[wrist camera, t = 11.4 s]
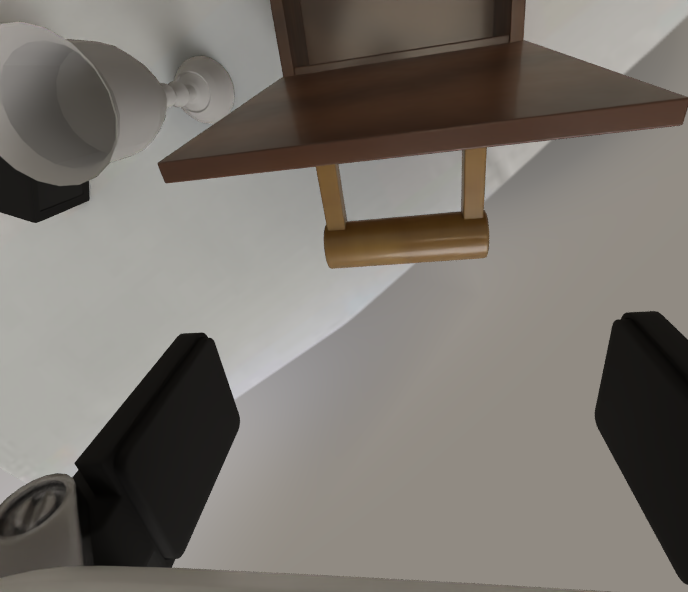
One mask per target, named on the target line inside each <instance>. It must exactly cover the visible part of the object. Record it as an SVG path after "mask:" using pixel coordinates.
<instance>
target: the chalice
mask: <svg viewBox="0 0 688 592" xmlns="http://www.w3.org/2000/svg"><path fill="white" fill-rule="evenodd" d="M233 104H234V88H233V83H232V81H231V79H230V76H229V74H228V73H227V71H226V70H225V69H224V68H223V67H222V65H221V64H219V63H218V62H216V61H215V60H213V59H212V58H208V57H204V56H196V57H192V58H190V59H188V60H186V61H184V63H183V64H182V65H181V66H180V67H179V69H178V71H177V74H176V75H175V78H174V81H172V82H170V83H169V84H165V83H159V81H158V80H157V78H156V77H155V76H154V75H153V74H152V73H151V72H150V71H149V70H148V68H147V67H146V66H145V65H143V64H142V63H141V62H139V61H138V60H136V59H135V58H134V57H132V56H131V55H129V54H127V53H126V52H124V51H122V50H121V49H119V48H117V47H116V46H113V45H109V44H105V43H101V42H96V41H84V40H72V39H64V38H63V37H61V36H59V35H58V34H56V33H54V32H52V31H51V30H49V29H47V28H45V27H41V26H37V25H33V24H29V23H24V22H20V21H19V22H12V23H4V24H0V156H1V157H2V158H3V159H4V160H5V161H7V162H8V163H9V164H10V165H11V166H12V167H14V168H15V169H16V170H18V171H20V172H22V173H24V174H25V175H27V176H29V177H31V178H33V179H35V180H37V181H40V182H44V183H49V184H53V185H57V186H67V185H80V184H82V183H84V182H86V181H89V180H91V179H93V178H95V177H97V176H98V175H99V174H100V173H101V172H102V171H103V169H104V168H105V167H106V166H107V165H108V164H109V163H111V162H114V161H117V160H120V159H123V158H126V157H129V156H132V155H134V154H136V153H139V152H141V151H143V150H144V149H145V148H146V147H147V146H148V145H149V144H150V143H151V142H152V141H153V140H154V138H155V137H156V135H157V134H158V132H159V131H160V129H161V127H162V124H163V122H164V120H165V116H166V109H167V108H170V107H172V106H175V107H181V108H182V109H183V110H184V111H185V112H186V113H187V114H188V115H189V116H191V117H192V118H194V119H195V120H197V121H199V122H203V123H207V124H208V123H216V122H218V121H219V120H221V119H222V118H224V117H225V116H227V115H228V114H229V113H230V111H231V109H232V106H233Z"/></svg>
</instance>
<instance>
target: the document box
mask: <svg viewBox="0 0 688 592" xmlns="http://www.w3.org/2000/svg"><path fill="white" fill-rule="evenodd" d="M525 3H526V0H270V4H271V10H272V15H273V21H274V27H275V32H276V38H277V44H278V49H279V55H280V61H281V66H282V72H283V77H287V76H294V75H300V74H307V73H313V72H320V71H326V70H333V69H340V68H346V67H353V66H359V65H366V64H372V63H379V62H386V61H392V60H399V59H405V58H412V57H418V56H425V55H431V54H438V53H445V52H451V51H458V50H464V49H471V48H477V47H484V46H491V45H497V44H504V43H510V42H517V41H523V37H524V20H525Z"/></svg>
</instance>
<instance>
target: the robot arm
mask: <svg viewBox="0 0 688 592" xmlns="http://www.w3.org/2000/svg"><path fill="white" fill-rule="evenodd" d="M595 420H596V424H597V427H598V429H599V431H600V433H601V435H602V437H603V438H604V440H605V442H606V444H607V446H608V448H609V450H610V451H611V453H612V455H613V457H614V459H615V461H616V462H617V464H618V466H619V468H620V470H621V472H622V474H623V475H624V477H625V479H626V481H627V483H628V485H629V486H630V488H631V490H632V492H633V494H634V496H635V498H636V500H637V501H638V503H639V505H640V507H641V509H642V511H643V513H644V514H645V516H646V518H647V520H648V522H649V524H650V525H651V527H652V529H653V531H654V533H655V534H656V537H657V538H658V540H659V542H660V544H661V546H662V548H663V550H664V551H665V553H666V555H667V557H668V559H669V561H670V562H671V564H672V566H673V568H674V570H675V571H676V573H677V575H678V577H679V578H680V579H681V580H682V581H683V583H685V584H687V585H688V340H687V339H686V338H685V337H684V336H683V335H682V334H681V333H680V332H679V331H678V330H677V329H676V328H675V327H674V326H673V325H672V324H671V323H670V322H669V321H668V320H667V319H665V317H664V316H663V315H661V314H660V313H659V312H655V311H650V312H630V313H625V314H624V315H623V316H622V318H621V320H616V321H614V323H613V326H612V330H611V335H610V340H609V345H608V350H607V355H606V359H605V364H604V369H603V374H602V379H601V384H600V389H599V394H598V399H597V403H596V408H595ZM239 425H240V417H239V413H238V410H237V407H236V404H235V401H234V398H233V395H232V392H231V390H230V387H229V384H228V381H227V378H226V375H225V372H224V369H223V366H222V363H221V360H220V357H219V354H218V351H217V348H216V345H215V342H214V340H213V339H212V338H208V337H207V335H206V334H205V333H185V334H180V335H179V336H178V337H177V338H176V339H175V340H174V342H173V343H172V344H171V345H170V347H169V348H168V349H167V350H166V352H165V353H164V354H163V355H162V356H161V358H160V359H159V360H158V361H157V363H156V364H155V365H154V366H153V367H152V369H151V370H150V371H149V372H148V374H147V375H146V376H145V377H144V379H143V380H142V381H141V382H140V383H139V385H138V386H137V387H136V388H135V390H134V391H133V392H132V393H131V394H130V396H129V397H128V398H127V399H126V401H125V402H124V403H123V404H122V406H121V407H120V408H119V409H118V410H117V412H116V413H115V414H114V415H113V417H112V418H111V419H110V420H109V421H108V423H107V424H106V425H105V426H104V428H103V429H102V430H101V431H100V432H99V434H98V435H97V436H96V437H95V439H94V440H93V441H92V442H91V444H90V445H89V446H88V447H87V448H86V450H85V451H84V452H83V453H82V455H81V456H80V457H79V458H78V459H77V461H76V462H75V465H76V466H77V468H78V469H79V470H78V471H77V473H76V474H75V475H74V476H73V478H72V477H70V476H69V475H67V474H59V473H57V474H51V475H46V476H43V477H41V478H38V479H35V480H33V481H31V482H29V483H28V484H26V485H25V486H22V487H21V488H19V489H18V490H17V491H15V492H14V493H13V494H11V495H10V496H9V497H7V498H6V500H4V501H3V503H2V504H1V505H0V592H609V591H593V590H575V589H559V588H541V587H525V586H508V585H492V584H475V583H457V582H438V581H419V580H403V579H385V578H366V577H347V576H328V575H308V574H290V573H269V572H249V571H248V572H247V571H229V570H207V569H187V568H172V565H173V563H174V561H175V559H178V558H180V557H181V556H182V554H183V553H184V551H185V549H186V547H187V545H188V542H189V540H190V538H191V535H192V534H193V531H194V529H195V527H196V524H197V522H198V520H199V518H200V515H201V513H202V511H203V509H204V506H205V504H206V502H207V500H208V497H209V495H210V493H211V491H212V488H213V486H214V484H215V481H216V479H217V477H218V475H219V473H220V470H221V468H222V466H223V463H224V461H225V459H226V457H227V454H228V452H229V450H230V448H231V445H232V443H233V441H234V438H235V436H236V434H237V432H238V429H239Z"/></svg>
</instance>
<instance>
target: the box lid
mask: <svg viewBox="0 0 688 592" xmlns="http://www.w3.org/2000/svg"><path fill="white" fill-rule="evenodd" d="M687 108H688V97H686V96H683V95H680V94H677V93H674V92H671V91H669V90H666V89H663V88H660V87H657V86H654V85H652V84H649V83H646V82H643V81H640V80H637V79H634V78H632V77H629V76H626V75H623V74H620V73H617V72H614V71H611V70H609V69H606V68H603V67H600V66H597V65H594V64H591V63H588V62H586V61H583V60H580V59H577V58H574V57H571V56H568V55H565V54H563V53H560V52H557V51H554V50H551V49H548V48H545V47H543V46H540V45H537V44H534V43H531V42H528V41H525V40H523V41H517V42H510V43H504V44H497V45H491V46H484V47H477V48H471V49H464V50H458V51H451V52H445V53H438V54H431V55H425V56H418V57H412V58H405V59H399V60H392V61H386V62H379V63H372V64H366V65H359V66H353V67H346V68H340V69H333V70H326V71H320V72H313V73H307V74H300V75H294V76H287V77H282V78H280V79H279V80H277V81H276V82H275V83H273V84H272V85H270V86H269V87H267V88H266V89H264V90H263V91H261V92H260V93H259V94H257V95H256V96H254V97H253V98H251V99H250V100H248V101H247V102H245V103H244V104H243V105H241V106H240V107H238V108H237V109H235V110H234V111H232V112H231V113H229V114H228V115H227V116H225V117H224V118H222V119H221V120H219V121H218V122H216V123H215V124H213V125H212V126H211V127H209V128H208V129H206V130H205V131H203V132H202V133H200V134H199V135H197V136H196V137H195V138H193V139H192V140H190V141H189V142H187V143H186V144H184V145H183V146H181V147H180V148H179V149H177V150H176V151H174V152H173V153H171V154H170V155H168V156H167V157H165V158H164V159H163V160H161V161H160V162H158V166H159V169H160V171H161V174H162V176H163V179H164V181H165V183H174V182H183V181H192V180H201V179H209V178H218V177H227V176H236V175H245V174H254V173H263V172H272V171H281V170H289V169H298V168H307V167H316V171H317V176H318V181H319V187H320V192H321V198H322V203H323V208H324V214H325V219H326V226H325V230H324V250H325V256H326V261H327V264H328V266H329V267H330V268H332V269H333V268H348V267H363V266H377V265H392V264H406V263H420V262H435V261H449V260H463V259H479V258H485V257H487V254H488V250H489V227H488V226H489V225H488V218H487V214H486V212H485V210H484V193H485V172H486V151H487V147H494V146H503V145H512V144H520V143H529V142H538V141H547V140H556V139H564V138H574V137H582V136H592V135H600V134H608V133H618V132H627V131H636V130H645V129H654V128H663V127H671V126H680V125H682V124H683V121H684V118H685V115H686V111H687ZM458 150H462V189H461V212H449V213H438V214H427V215H415V216H404V217H393V218H381V219H370V220H359V221H347V217H346V211H345V204H344V198H343V191H342V185H341V178H340V172H339V165H338V164H343V163H352V162H360V161H369V160H378V159H387V158H396V157H405V156H414V155H423V154H432V153H440V152H449V151H458Z"/></svg>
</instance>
